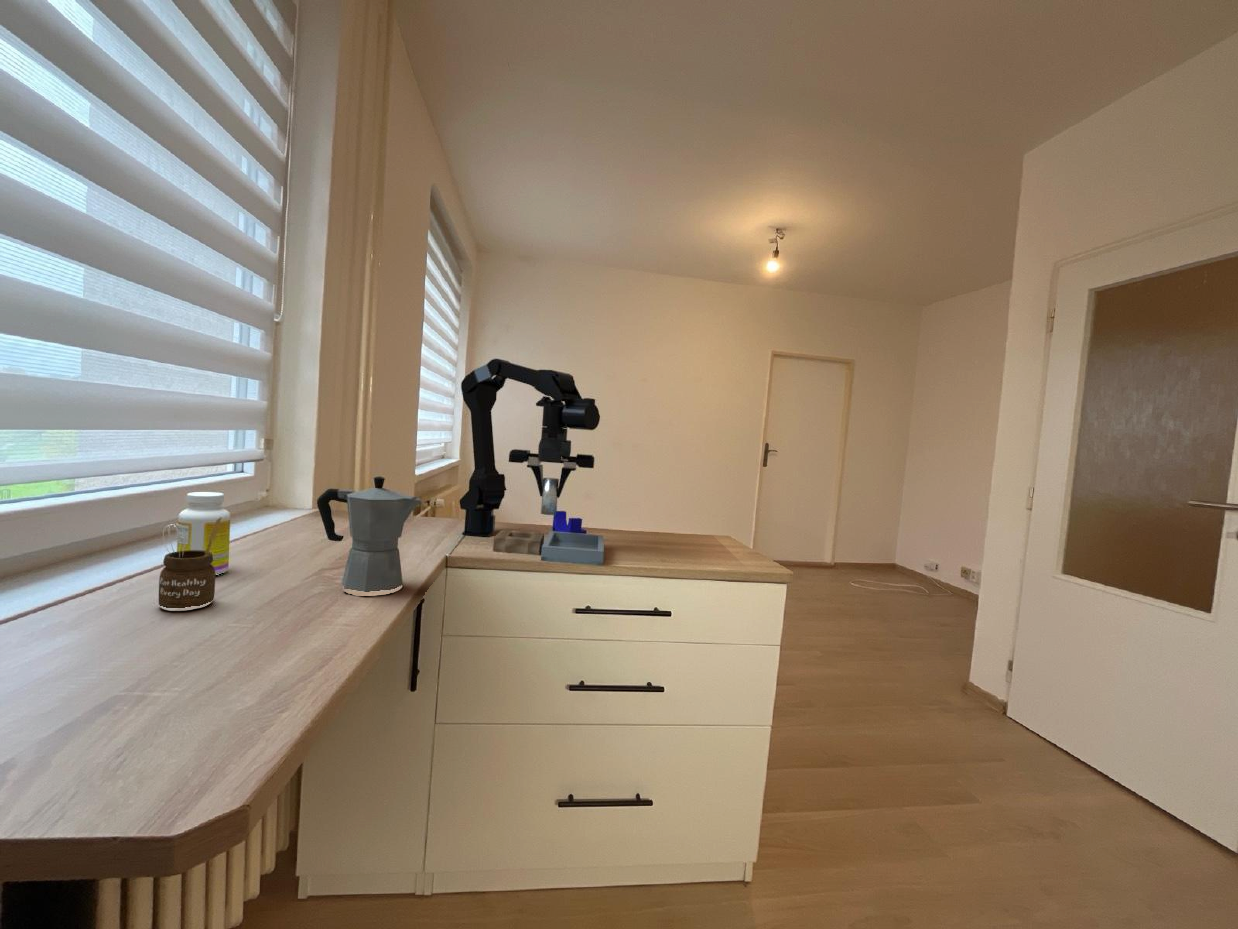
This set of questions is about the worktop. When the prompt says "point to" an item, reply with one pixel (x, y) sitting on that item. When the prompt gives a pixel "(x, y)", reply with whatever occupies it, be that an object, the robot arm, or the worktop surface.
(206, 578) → the utensil holder
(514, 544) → the socket block
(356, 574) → the coffeepot
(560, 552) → the tray
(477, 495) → the robot arm
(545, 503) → the silver metal cylinder
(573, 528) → the cable clip
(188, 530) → the supplement bottle
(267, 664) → the worktop surface
